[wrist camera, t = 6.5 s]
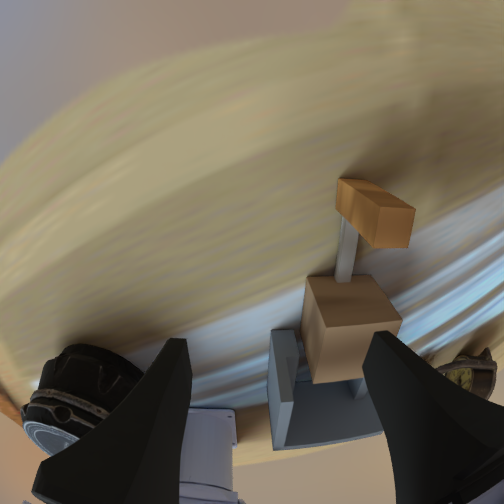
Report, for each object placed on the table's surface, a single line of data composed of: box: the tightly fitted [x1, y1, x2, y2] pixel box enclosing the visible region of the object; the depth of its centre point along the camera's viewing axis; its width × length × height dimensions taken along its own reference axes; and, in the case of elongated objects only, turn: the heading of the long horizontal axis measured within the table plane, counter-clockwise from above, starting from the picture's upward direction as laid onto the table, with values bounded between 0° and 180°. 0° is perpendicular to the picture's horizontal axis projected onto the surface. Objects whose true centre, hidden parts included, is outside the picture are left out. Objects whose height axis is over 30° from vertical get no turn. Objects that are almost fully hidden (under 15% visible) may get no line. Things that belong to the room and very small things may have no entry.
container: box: [21, 344, 144, 456], centre depth 21 cm, size 13×13×10 cm
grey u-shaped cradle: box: [267, 330, 384, 451], centre depth 21 cm, size 8×10×7 cm
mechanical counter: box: [436, 347, 497, 400], centre depth 24 cm, size 7×13×10 cm
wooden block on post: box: [300, 178, 416, 384], centre depth 17 cm, size 12×5×6 cm, turn 0°
